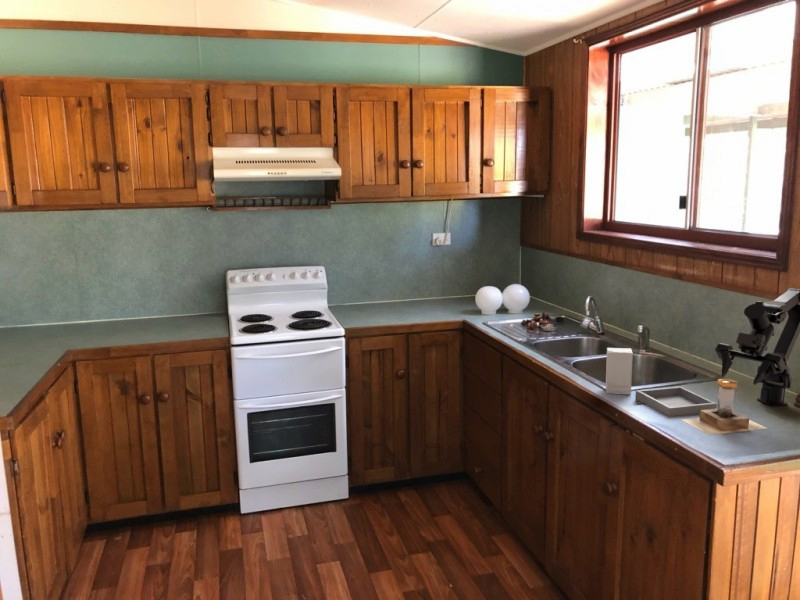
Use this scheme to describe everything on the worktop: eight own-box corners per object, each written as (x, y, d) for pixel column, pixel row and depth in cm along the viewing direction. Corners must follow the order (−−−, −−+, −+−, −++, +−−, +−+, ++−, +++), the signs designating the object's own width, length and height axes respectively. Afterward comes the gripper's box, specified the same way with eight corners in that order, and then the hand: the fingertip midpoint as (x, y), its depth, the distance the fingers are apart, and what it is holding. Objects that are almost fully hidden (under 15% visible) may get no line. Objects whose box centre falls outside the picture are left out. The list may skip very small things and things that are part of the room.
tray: (679, 396, 224) (680, 386, 223) (715, 414, 208) (716, 403, 207) (635, 400, 219) (636, 390, 219) (668, 419, 203) (669, 408, 203)
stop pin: (724, 419, 200) (728, 378, 198) (737, 426, 195) (741, 383, 193) (709, 421, 199) (713, 379, 196) (722, 428, 194) (726, 385, 191)
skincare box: (629, 390, 230) (632, 348, 227) (631, 395, 224) (634, 352, 221) (604, 388, 232) (606, 346, 229) (604, 393, 226) (607, 350, 223)
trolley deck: (736, 416, 205) (737, 404, 205) (766, 431, 194) (768, 418, 193) (680, 422, 200) (681, 410, 199) (708, 438, 189) (709, 424, 188)
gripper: (720, 317, 206) (699, 358, 201) (785, 328, 192) (764, 372, 187) (730, 338, 212) (709, 378, 208) (793, 350, 198) (773, 393, 194)
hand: (738, 380), depth 199 cm, fingers open, 9 cm apart
